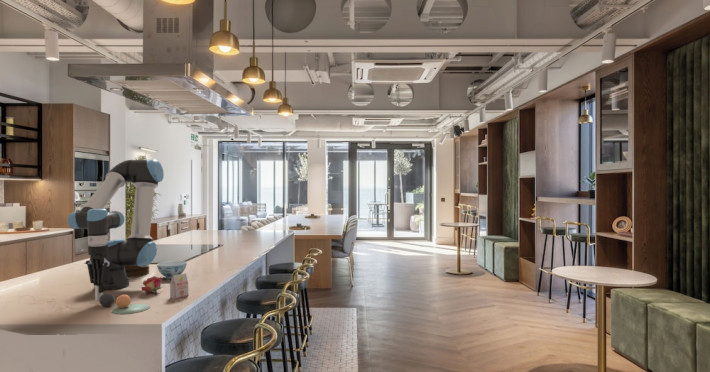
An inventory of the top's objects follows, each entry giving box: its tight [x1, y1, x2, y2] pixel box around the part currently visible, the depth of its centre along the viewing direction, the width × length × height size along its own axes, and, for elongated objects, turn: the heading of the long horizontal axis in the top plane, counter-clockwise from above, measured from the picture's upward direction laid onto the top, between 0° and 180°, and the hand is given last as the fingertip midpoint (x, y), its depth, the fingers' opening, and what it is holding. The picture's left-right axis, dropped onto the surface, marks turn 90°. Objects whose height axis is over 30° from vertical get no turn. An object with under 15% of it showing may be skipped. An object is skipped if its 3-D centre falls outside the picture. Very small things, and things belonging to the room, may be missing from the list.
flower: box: [141, 275, 163, 294], centre depth 215 cm, size 10×9×8 cm
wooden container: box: [125, 264, 150, 278], centre depth 259 cm, size 15×15×22 cm
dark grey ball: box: [98, 292, 115, 307], centre depth 194 cm, size 6×6×6 cm
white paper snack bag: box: [169, 273, 189, 300], centre depth 208 cm, size 4×7×10 cm, turn 142°
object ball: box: [115, 294, 132, 308], centre depth 191 cm, size 6×6×6 cm
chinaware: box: [156, 260, 188, 280], centre depth 249 cm, size 15×15×8 cm
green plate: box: [111, 303, 151, 315], centre depth 189 cm, size 14×14×1 cm
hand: (99, 300), depth 196 cm, fingers closed
